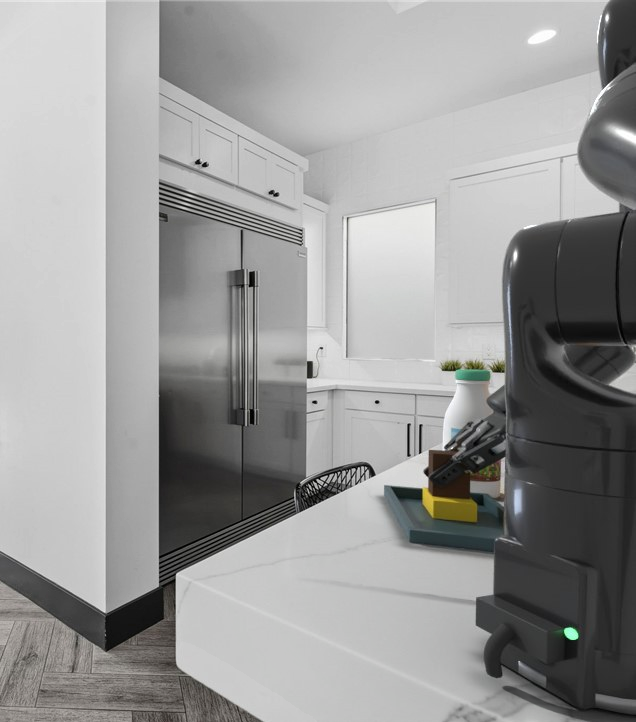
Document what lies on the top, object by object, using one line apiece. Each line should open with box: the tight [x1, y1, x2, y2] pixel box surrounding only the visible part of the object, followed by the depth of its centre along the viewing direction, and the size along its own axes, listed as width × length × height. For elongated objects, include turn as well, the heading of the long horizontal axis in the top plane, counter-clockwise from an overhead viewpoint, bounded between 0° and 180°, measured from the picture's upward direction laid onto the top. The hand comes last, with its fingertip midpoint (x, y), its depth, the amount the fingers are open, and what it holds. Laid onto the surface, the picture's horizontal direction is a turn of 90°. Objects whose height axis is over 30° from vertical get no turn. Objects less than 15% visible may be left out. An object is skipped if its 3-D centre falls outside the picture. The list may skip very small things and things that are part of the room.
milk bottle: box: [442, 369, 502, 499], centre depth 85 cm, size 8×8×20 cm
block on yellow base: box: [422, 449, 477, 523], centre depth 74 cm, size 7×5×8 cm
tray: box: [383, 484, 504, 553], centre depth 71 cm, size 22×14×2 cm, turn 159°
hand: (431, 480), depth 75 cm, fingers closed on block on yellow base, 3 cm apart
